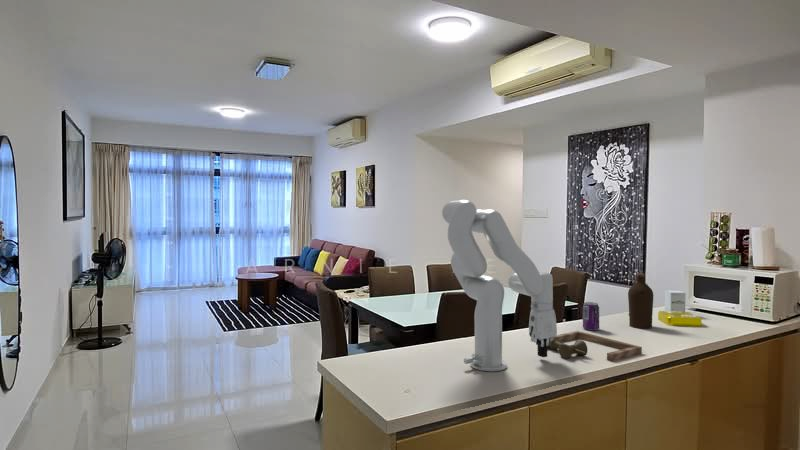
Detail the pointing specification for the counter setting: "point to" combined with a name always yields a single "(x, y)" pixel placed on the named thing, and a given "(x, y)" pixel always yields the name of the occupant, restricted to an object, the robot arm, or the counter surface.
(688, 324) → the element tile
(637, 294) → the olive oil
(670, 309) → the supplement box
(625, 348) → the walnut bay
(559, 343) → the kendama
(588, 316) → the beverage can
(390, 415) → the counter surface
